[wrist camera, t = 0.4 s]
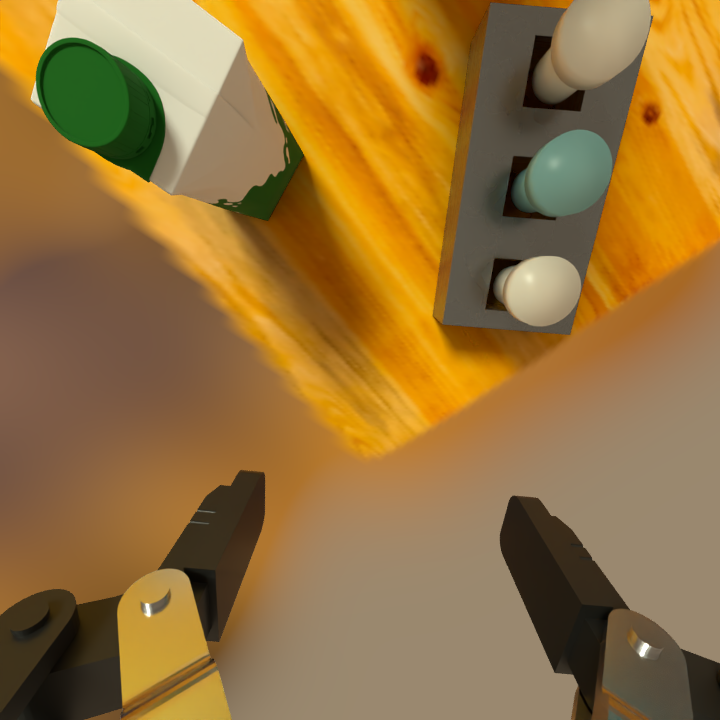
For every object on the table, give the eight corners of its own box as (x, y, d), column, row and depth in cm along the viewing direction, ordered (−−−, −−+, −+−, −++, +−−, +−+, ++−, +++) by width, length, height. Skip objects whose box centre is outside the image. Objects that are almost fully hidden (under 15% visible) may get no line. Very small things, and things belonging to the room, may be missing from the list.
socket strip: (470, 43, 30) (490, 2, 25) (607, 54, 30) (653, 15, 25) (432, 315, 37) (442, 324, 32) (543, 324, 37) (569, 334, 32)
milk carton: (194, 181, 34) (-37, 81, 14) (237, 90, 31) (31, -173, 12) (271, 234, 35) (154, 207, 16) (318, 150, 33) (248, -2, 13)
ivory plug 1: (489, 253, 31) (518, 253, 25) (547, 258, 31) (589, 258, 25) (479, 311, 32) (503, 323, 26) (534, 316, 32) (570, 329, 26)
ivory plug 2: (529, 34, 26) (575, -30, 20) (597, 39, 26) (662, -23, 20) (515, 113, 27) (553, 75, 22) (579, 118, 27) (635, 82, 22)
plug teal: (508, 152, 28) (543, 126, 23) (570, 158, 28) (622, 132, 23) (495, 220, 30) (526, 211, 24) (555, 225, 30) (600, 217, 24)
